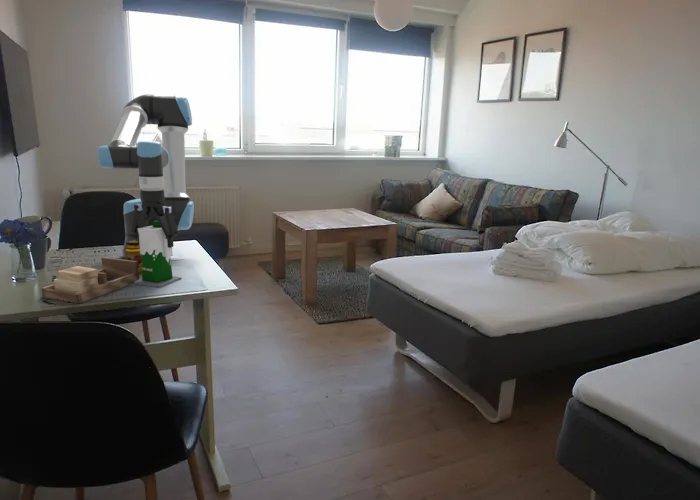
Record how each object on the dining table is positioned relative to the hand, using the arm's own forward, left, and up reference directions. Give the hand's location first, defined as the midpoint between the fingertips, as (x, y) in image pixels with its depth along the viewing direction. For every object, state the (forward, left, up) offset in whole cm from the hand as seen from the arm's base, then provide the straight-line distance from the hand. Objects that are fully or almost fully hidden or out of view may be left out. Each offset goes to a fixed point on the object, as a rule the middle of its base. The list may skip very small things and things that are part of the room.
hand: (156, 255), depth 173 cm
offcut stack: (+21, -13, -9) cm, 26 cm away
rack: (+15, -13, -9) cm, 22 cm away
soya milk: (0, 0, -9) cm, 9 cm away
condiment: (-5, -14, -10) cm, 18 cm away
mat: (0, 0, -9) cm, 9 cm away
